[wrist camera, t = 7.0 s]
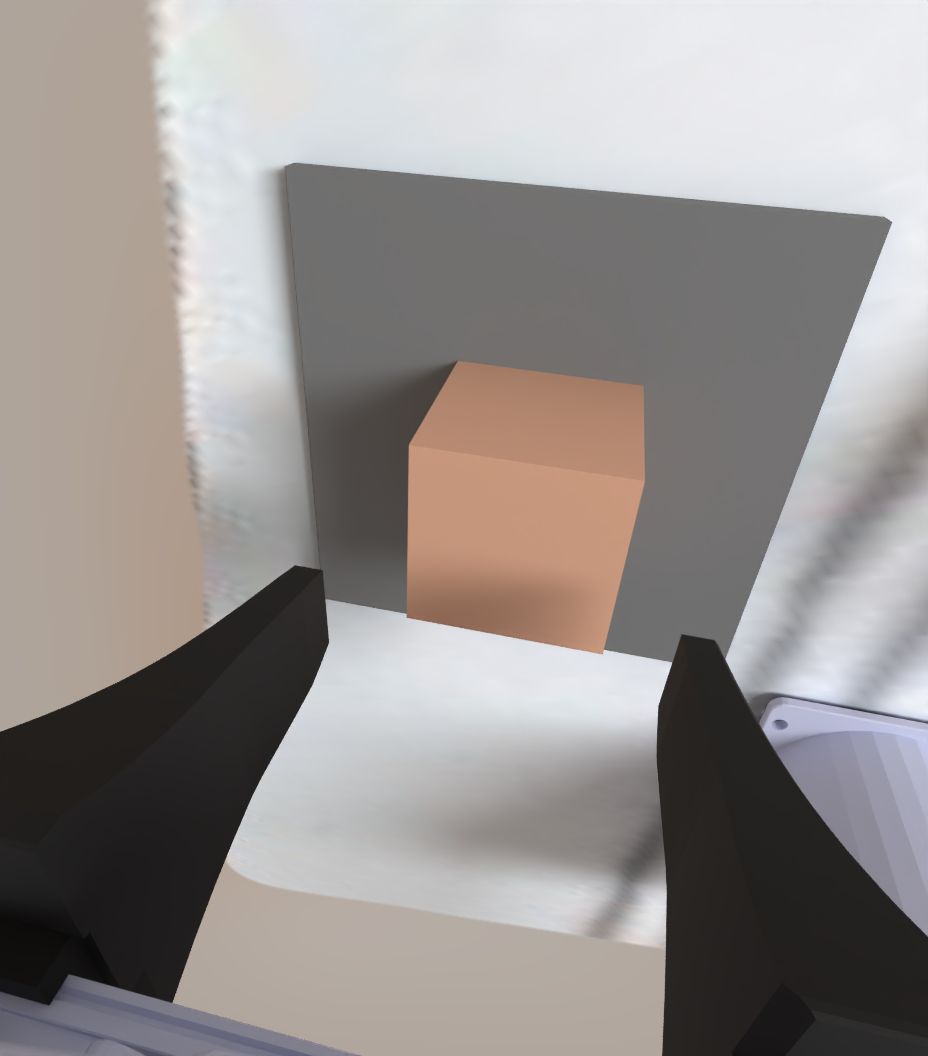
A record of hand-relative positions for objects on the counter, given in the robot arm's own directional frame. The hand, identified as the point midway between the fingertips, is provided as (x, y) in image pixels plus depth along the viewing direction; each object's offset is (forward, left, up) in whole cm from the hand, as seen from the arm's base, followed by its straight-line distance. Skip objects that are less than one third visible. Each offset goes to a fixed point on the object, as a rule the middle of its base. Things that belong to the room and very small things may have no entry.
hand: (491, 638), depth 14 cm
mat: (0, 0, -8) cm, 8 cm away
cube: (0, 0, -8) cm, 8 cm away
